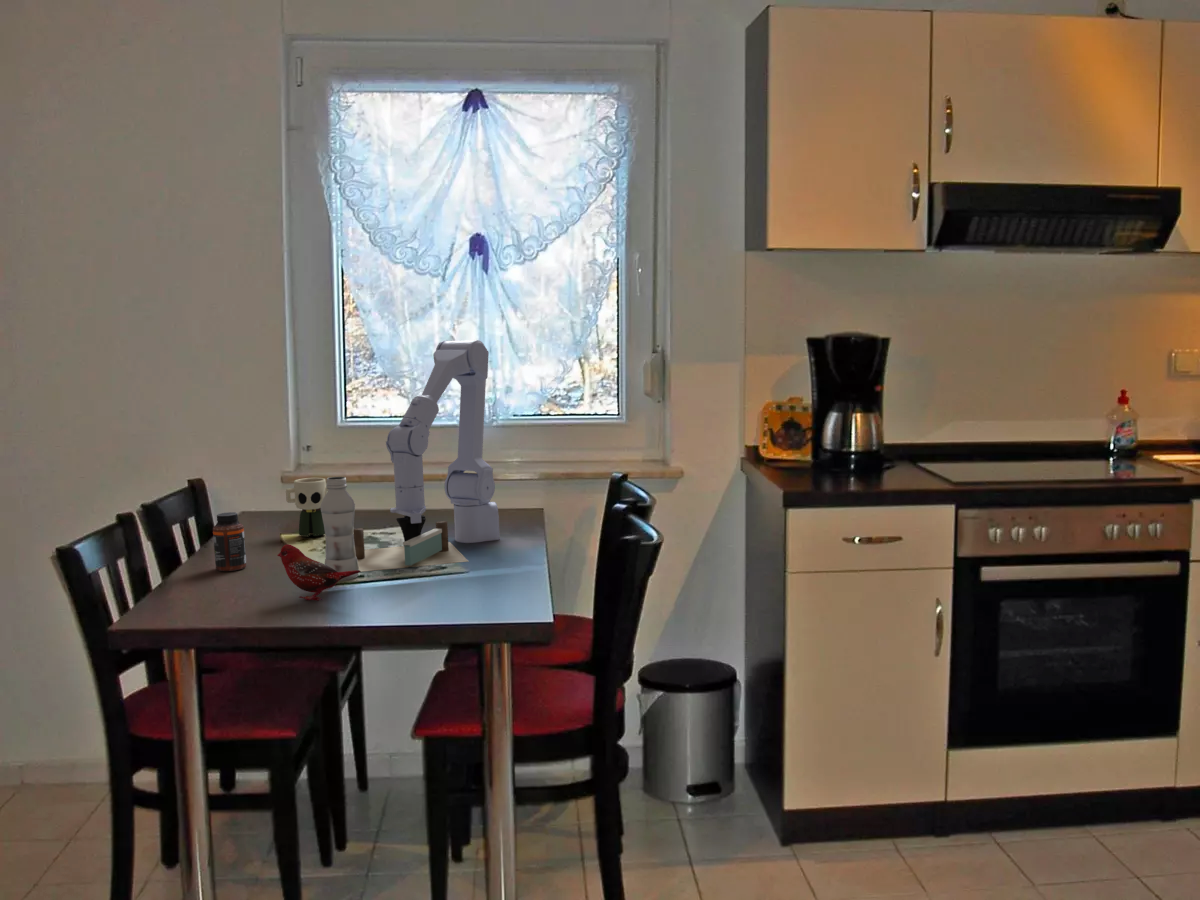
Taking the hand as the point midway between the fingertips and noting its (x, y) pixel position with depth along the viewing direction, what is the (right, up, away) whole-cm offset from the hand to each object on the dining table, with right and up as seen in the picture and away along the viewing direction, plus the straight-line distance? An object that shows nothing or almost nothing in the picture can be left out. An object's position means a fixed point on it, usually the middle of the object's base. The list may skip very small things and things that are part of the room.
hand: (412, 552), depth 231 cm
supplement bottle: (-37, -4, 0) cm, 37 cm away
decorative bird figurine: (-12, -7, -28) cm, 31 cm away
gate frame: (-2, -2, +3) cm, 4 cm away
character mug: (-28, +1, +31) cm, 42 cm away
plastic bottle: (-11, -5, -14) cm, 18 cm away
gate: (+3, -1, -1) cm, 3 cm away
